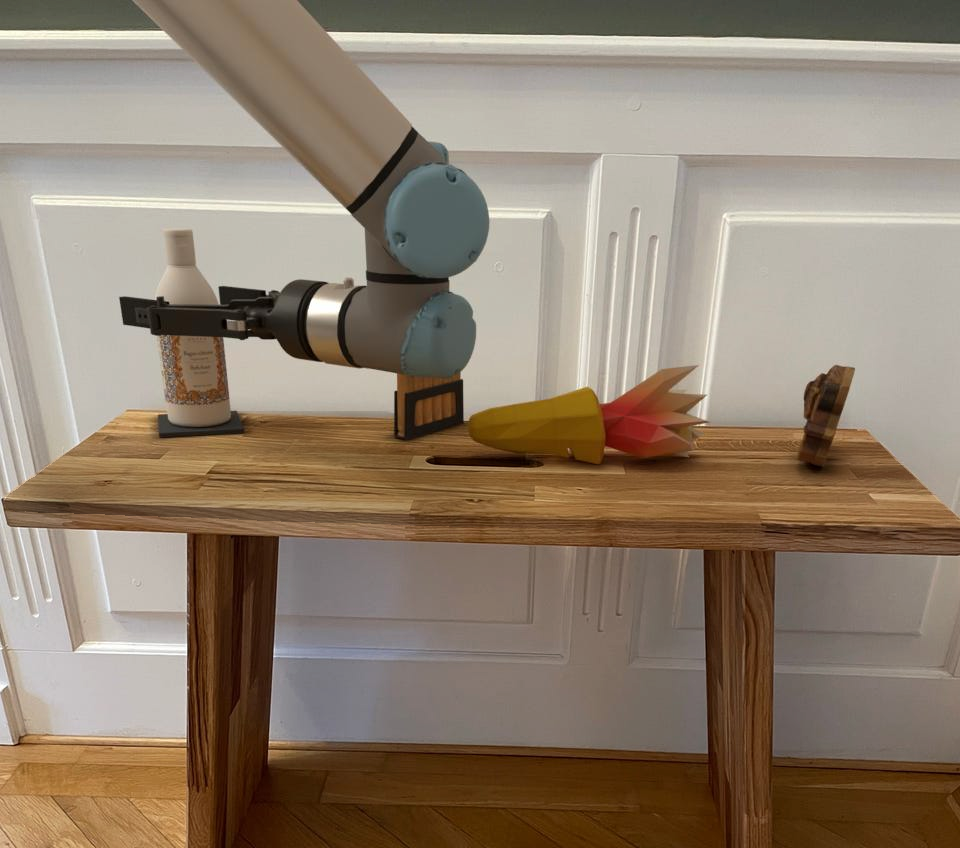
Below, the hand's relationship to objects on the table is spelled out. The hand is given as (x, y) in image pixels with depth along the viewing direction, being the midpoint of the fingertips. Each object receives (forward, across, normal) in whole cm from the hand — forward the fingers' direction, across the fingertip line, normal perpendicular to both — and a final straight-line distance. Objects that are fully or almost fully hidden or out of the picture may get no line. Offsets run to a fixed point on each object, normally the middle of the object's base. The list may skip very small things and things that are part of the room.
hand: (175, 304), depth 98 cm
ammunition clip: (-24, -14, +13) cm, 31 cm away
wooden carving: (-64, -27, +13) cm, 71 cm away
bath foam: (-2, 0, +13) cm, 13 cm away
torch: (-44, -14, +13) cm, 48 cm away
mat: (-2, 0, +13) cm, 13 cm away
